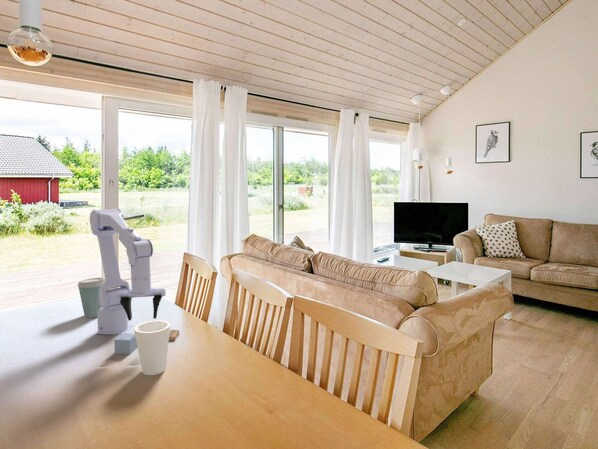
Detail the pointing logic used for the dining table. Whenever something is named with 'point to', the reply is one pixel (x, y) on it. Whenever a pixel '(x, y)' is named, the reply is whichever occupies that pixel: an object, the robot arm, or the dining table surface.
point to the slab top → (173, 334)
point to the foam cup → (152, 346)
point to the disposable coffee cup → (90, 295)
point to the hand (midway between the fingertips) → (142, 318)
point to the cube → (125, 343)
